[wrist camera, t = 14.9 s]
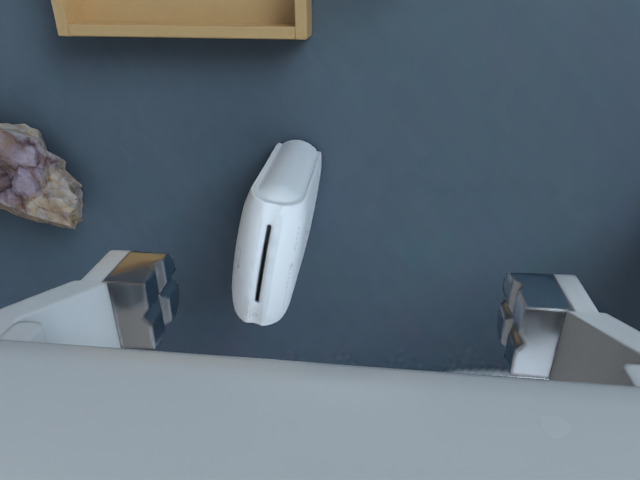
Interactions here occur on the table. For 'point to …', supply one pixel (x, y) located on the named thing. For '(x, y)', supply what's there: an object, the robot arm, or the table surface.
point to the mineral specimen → (36, 179)
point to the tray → (185, 18)
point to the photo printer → (275, 232)
